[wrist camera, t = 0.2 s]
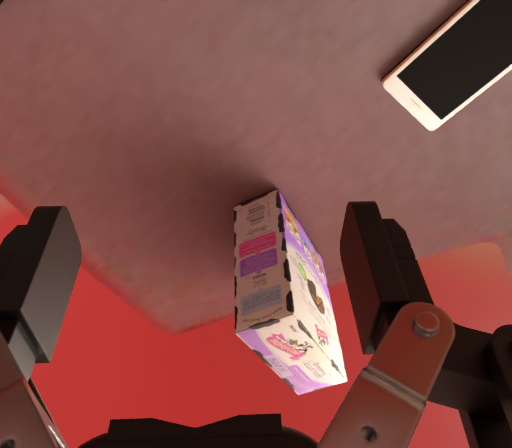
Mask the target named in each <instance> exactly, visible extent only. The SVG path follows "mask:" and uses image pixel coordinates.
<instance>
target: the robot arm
mask: <svg viewBox="0 0 512 448" xmlns="http://www.w3.org/2000/svg"><path fill="white" fill-rule="evenodd" d="M340 255H341V261H342V265H343V270H344V274H345V278H346V283H347V287H348V291H349V295H350V300H351V304H352V308H353V313H354V317H355V321H356V325H357V330H358V334H359V338H360V343H361V347H362V351H363V354H374V355H373V357H372V358H371V360H370V362H369V363H368V365H367V367H366V368H363V369H362V370H361V372H360V374H359V375H358V377H357V378H356V380H355V382H354V384H353V385H352V387H351V389H350V390H349V392H348V394H347V395H346V397H345V399H344V401H343V402H342V404H341V406H340V407H339V409H338V411H337V413H336V414H335V416H334V418H333V420H332V421H331V423H330V425H329V426H328V428H327V430H326V432H325V433H324V435H323V437H322V438H321V440H320V442H319V443H318V442H316V441H315V440H314V439H312V438H311V437H309V436H307V435H306V434H304V433H302V432H300V431H298V430H295V429H293V428H290V427H287V426H282V425H281V414H256V415H238V416H235V417H231V418H228V419H225V420H221V421H218V422H215V423H212V424H208V425H205V426H201V427H197V428H193V427H188V426H184V425H180V424H175V423H171V422H166V421H162V420H158V419H154V418H143V419H115V420H110V425H109V430H108V433H104V434H102V435H99V436H97V437H95V438H92V439H91V440H89V441H87V442H86V443H84V444H82V445H80V446H79V447H78V448H407V447H408V445H409V443H410V440H411V438H412V436H413V434H414V431H415V429H416V427H417V425H418V422H419V420H420V418H421V416H422V413H423V411H424V409H425V406H426V401H430V402H434V403H437V404H441V405H444V406H447V407H451V408H455V409H458V410H459V414H460V417H461V420H462V424H463V427H464V430H465V434H466V437H467V440H468V443H469V447H470V448H512V325H504V326H501V327H499V328H497V329H496V330H495V332H494V333H493V334H490V333H486V332H482V331H478V330H474V329H470V328H466V327H463V326H460V325H458V324H455V323H454V322H452V320H451V318H450V317H449V316H448V315H447V314H446V313H445V312H444V311H443V310H442V309H440V308H438V307H437V306H435V305H434V303H433V301H432V298H431V296H430V293H429V290H428V288H427V285H426V283H425V280H424V278H423V275H422V273H421V270H420V267H419V265H418V262H417V260H415V255H414V252H413V249H412V248H411V244H410V242H409V239H408V237H407V234H406V231H405V230H404V229H403V228H402V227H401V226H400V225H399V224H398V223H397V222H396V221H395V220H394V219H382V218H381V215H380V212H379V209H378V206H377V204H376V202H375V201H361V202H348V204H347V208H346V213H345V218H344V223H343V228H342V234H341V239H340ZM80 263H81V245H80V241H79V239H78V236H77V233H76V230H75V227H74V225H73V222H72V219H71V216H70V213H69V211H68V209H67V208H66V207H65V206H38V207H36V208H35V209H34V211H33V213H32V215H31V217H30V219H29V222H28V224H27V225H18V226H16V227H15V229H13V231H11V232H10V233H9V234H8V235H7V236H6V237H5V238H4V239H3V241H2V243H1V245H0V448H69V447H68V446H67V444H66V442H65V440H64V439H63V437H62V435H61V434H60V432H59V430H58V428H57V426H56V424H55V422H54V421H53V418H52V416H51V414H50V412H49V411H48V409H47V407H46V405H45V403H44V401H43V399H42V397H41V395H40V393H39V391H38V389H37V387H36V385H35V383H34V382H33V380H32V378H31V373H32V370H33V367H34V364H35V363H50V361H51V358H52V355H53V351H54V348H55V345H56V341H57V338H58V335H59V332H60V328H61V325H62V322H63V318H64V316H65V312H66V309H67V306H68V302H69V299H70V296H71V292H72V290H73V286H74V283H75V280H76V277H77V273H78V270H79V267H80Z"/></svg>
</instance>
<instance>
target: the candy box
mask: <svg viewBox="0 0 512 448" xmlns="http://www.w3.org/2000/svg"><path fill="white" fill-rule="evenodd" d="M234 257H235V273H234V274H235V334H236V335H237V336H238V337H239V338H240V339H241V340H242V341H243V342H245V343H246V344H247V345H248V346H249V347H250V348H251V349H252V350H253V351H254V352H255V353H256V354H257V355H258V356H259V357H260V358H261V359H262V360H263V361H264V362H265V363H266V364H267V365H268V366H269V367H270V368H271V369H272V370H273V371H274V372H275V373H276V374H277V375H278V376H280V378H282V379H283V380H284V381H285V382H286V383H287V384H288V385H289V386H290V387H291V388H292V389H293V390H294V391H295V392H296V393H297V394H298V395H300V394H303V393H307V392H311V391H314V390H318V389H322V388H325V387H328V386H332V385H336V384H339V383H343V382H347V376H346V370H345V365H344V360H343V356H342V351H341V346H340V341H339V337H338V332H337V328H336V322H335V317H334V313H333V308H332V303H331V299H330V294H329V288H328V283H327V279H326V274H325V269H324V264H323V260H322V258H321V256H320V255H319V253H318V251H317V250H316V249H315V247H314V245H313V244H312V242H311V240H310V239H309V237H308V236H307V234H306V233H305V231H304V229H303V228H302V226H301V225H300V223H299V222H298V220H297V218H296V217H295V215H294V214H293V212H292V211H291V209H290V207H289V206H288V204H287V203H286V201H285V199H284V198H283V196H282V194H281V193H280V191H279V189H277V190H275V191H273V192H270V193H267V194H265V195H263V196H260V197H258V198H255V199H253V200H250V201H247V202H245V203H242V204H240V205H238V206H236V207H234Z"/></svg>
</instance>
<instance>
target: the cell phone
mask: <svg viewBox="0 0 512 448" xmlns="http://www.w3.org/2000/svg"><path fill="white" fill-rule="evenodd" d="M511 69H512V0H469V1H468V2H467V3H466V4H465V5H464V6H463V7H462V8H460V9H459V10H458V11H457V12H456V13H455V14H454V15H453V16H452V17H451V18H450V19H448V20H447V21H446V22H445V23H444V24H443V25H442V26H441V27H440V28H439V29H438V30H436V31H435V32H434V33H433V34H432V35H431V36H430V37H429V38H428V39H427V40H425V41H424V42H423V43H422V44H421V45H420V46H419V47H418V48H417V49H416V50H415V51H413V52H412V53H411V54H410V55H409V56H408V57H407V58H406V59H405V60H404V61H403V62H401V63H400V64H399V65H398V66H397V67H396V68H395V69H394V70H393V71H392V72H390V73H389V74H388V75H387V76H386V77H385V78H384V79H383V80H382V85H383V87H384V88H385V90H386V91H388V92H389V93H390V94H391V95H392V96H393V97H394V98H395V99H396V100H397V101H398V102H399V103H400V104H401V105H402V106H403V107H404V108H405V109H407V110H408V111H409V112H410V113H411V114H412V115H413V116H414V117H415V118H416V119H417V120H418V121H419V122H420V123H421V124H422V125H423V126H424V127H426V128H427V129H428V130H430V131H433V130H435V129H436V128H438V127H439V126H440V125H442V124H443V123H444V122H445V121H447V120H448V119H449V118H450V117H452V116H453V115H454V114H455V113H457V112H458V111H459V110H461V109H462V108H463V107H464V106H466V105H467V104H468V103H469V102H471V101H472V100H473V99H474V98H476V97H477V96H478V95H480V94H481V93H482V92H483V91H485V90H486V89H487V88H488V87H490V86H491V85H492V84H493V83H495V82H496V81H497V80H499V79H500V78H501V77H502V76H504V75H505V74H506V73H507V72H509V71H510V70H511Z"/></svg>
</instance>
